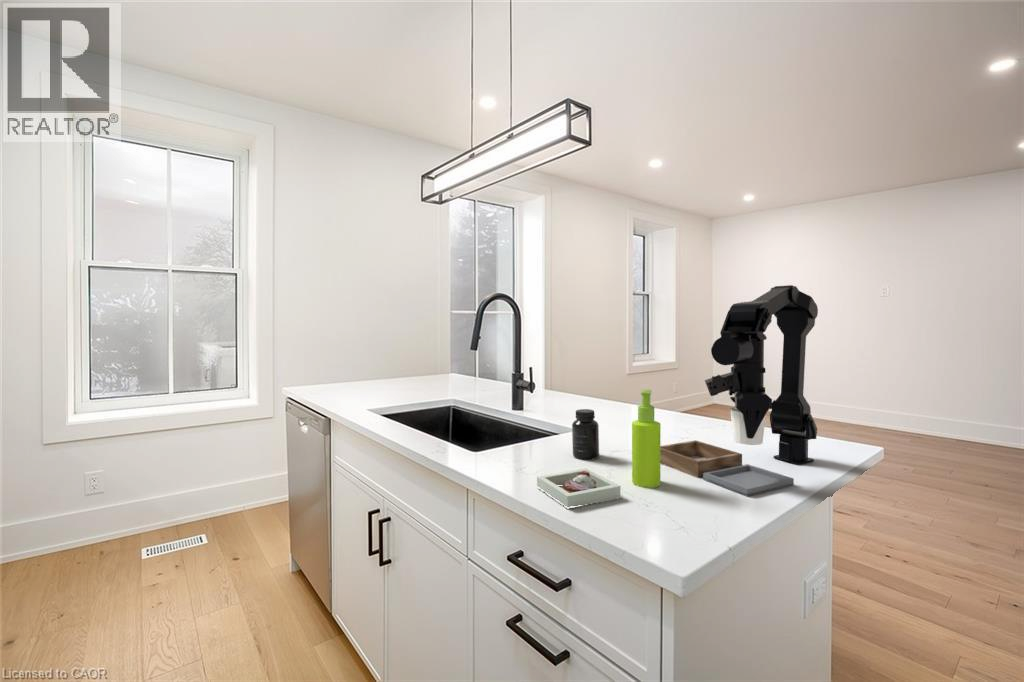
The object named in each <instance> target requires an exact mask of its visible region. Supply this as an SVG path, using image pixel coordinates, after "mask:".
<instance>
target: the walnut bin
mask: <svg viewBox="0 0 1024 682" xmlns="http://www.w3.org/2000/svg"><path fill="white" fill-rule="evenodd" d="M692 456H698V457H700V458H703V459H699V460H698V459H695V458H693V457H692ZM661 464H662V465H664V466H667V467H669V468H672V469H674V470H677V471H679V472H682V473H684V474H687V475H690V476H693V477H695V478H697V479H698V478H703V473H706V472H711V471H716V470H721V469H726V468H731V467H736V466H741V465H743V454H742V453H739V452H738V451H733V450H730V449H727V448H723V447H719V446H716V445H712V444H709V443H706V442H702V441H700V440H690V441H684V442H677V443H671V444H670V443H669V444H664V445H660V465H661Z"/></svg>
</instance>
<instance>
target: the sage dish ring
mask: <svg viewBox="0 0 1024 682" xmlns="http://www.w3.org/2000/svg"><path fill="white" fill-rule="evenodd" d="M582 471H587V472H589V474H590V476H591V477H592V478H593V479H594V480H595V481H596V484H595V486H596V487H597V488H594V489H588V490H583V491H578V492H573V493H569V492H567V491H565V490H564V489H562V486H561V487H559V486H557V485H564V484H565V483H566V482H567V481H569V480H571V479H574V478H576V476H577V475H578V473H579V472H582ZM537 486H538V487H540V488H541V489H543V490H544V491H545V492H547V493H548V494H550V495H551V496H552V497H554V498H555V499H557V500H559V501H560V502H561V503H563V504H564V505H565V506H567V507H570V506H578V505H585V504H591V503H596V504H599V503H598V502H601V503H604V502H603V501H606V502H610V501H615V500H620V499H621V485H619V484H618V483H615V482H614V481H612V480H610V479H608V478H606V477H604V476H601V475H599V474H597V473H596V472H594V471H591V470H589V469H588V468H580V469H575V470H569V471H568V470H567V471H564V472H558V473H553V474H552V473H551V474H544V475H540V476H536V487H537ZM619 498H620V499H619ZM614 499H615V500H614ZM609 500H610V501H609ZM591 505H592V504H591Z"/></svg>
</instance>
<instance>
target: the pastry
mask: <svg viewBox="0 0 1024 682" xmlns="http://www.w3.org/2000/svg"><path fill="white" fill-rule="evenodd" d="M595 484H596V481H595V480H594V479H593V478H592V477H591V476H590V474H589V472H587V471H582V472H579V473H578V475H577V476H576V478H574V479H571V480H569V481H567V482H566V483H565V484H564V485H563V486H561V488H562V489H564V490H565V491H567V492H569V493H573V492H578V491H583V490H588V489H594V488H597V487H596V486H595Z"/></svg>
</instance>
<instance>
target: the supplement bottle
mask: <svg viewBox="0 0 1024 682" xmlns="http://www.w3.org/2000/svg"><path fill="white" fill-rule="evenodd" d="M595 417H596V416H595V411H594V409H591V408H590V409H589V408H588V409H587V408H582V409H576V410H575V419H576V420H574V421H573V422H572V424H571V431H572V432H571V434H572V437H571V440H572V456H573V457H574V458H575V459H577V460H584V461H585V460H587V461H589V460H595V459H597V458H599V455H600V437H599V436H600V433H599V432H600V431H599V430H600V429H599V423H598V421H596V420H595Z"/></svg>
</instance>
